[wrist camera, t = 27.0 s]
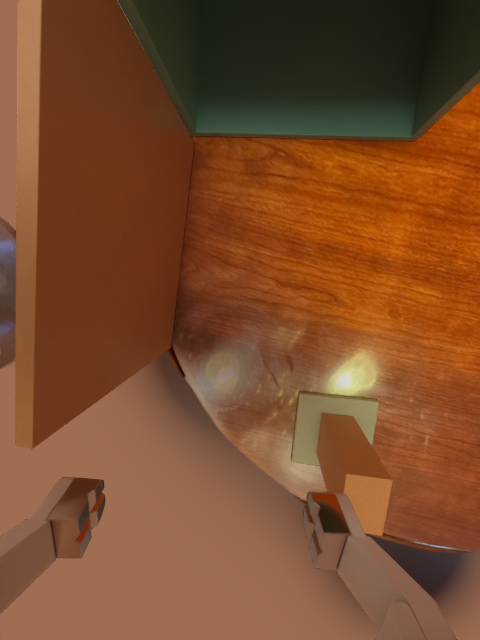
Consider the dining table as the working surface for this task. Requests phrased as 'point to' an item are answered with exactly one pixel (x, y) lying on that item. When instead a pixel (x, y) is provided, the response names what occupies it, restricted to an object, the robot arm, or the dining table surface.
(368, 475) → the block
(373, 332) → the dining table surface
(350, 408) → the mat
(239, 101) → the green hollow box
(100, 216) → the brown cabinet door
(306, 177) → the dining table surface
